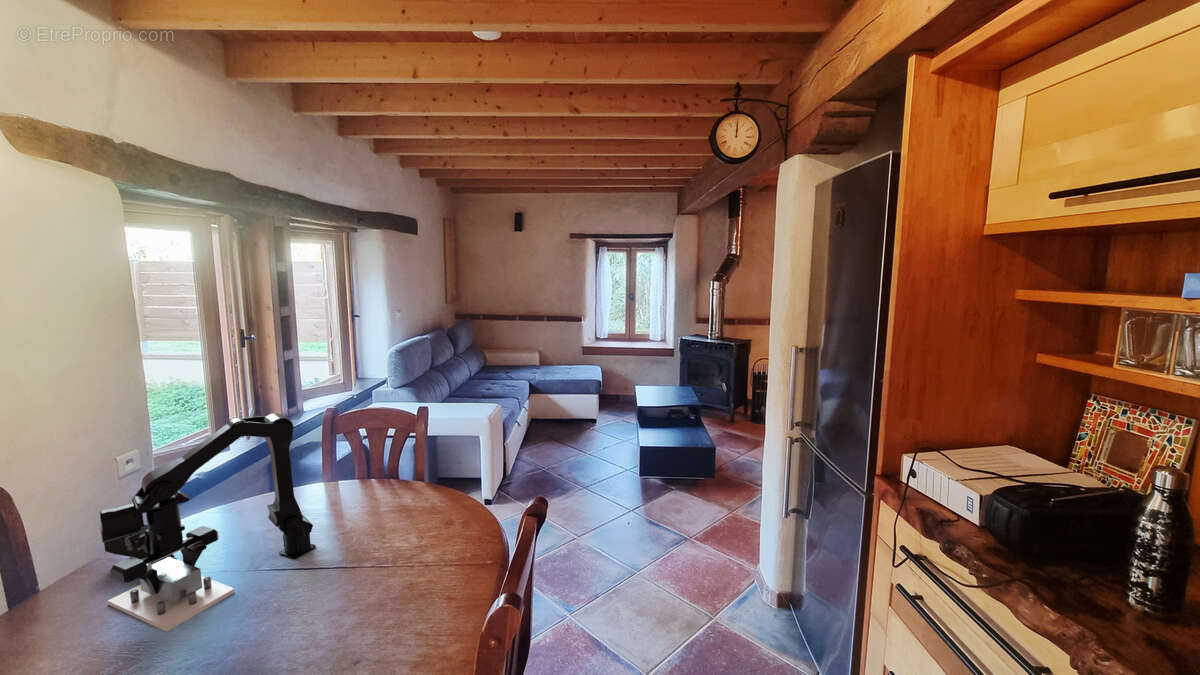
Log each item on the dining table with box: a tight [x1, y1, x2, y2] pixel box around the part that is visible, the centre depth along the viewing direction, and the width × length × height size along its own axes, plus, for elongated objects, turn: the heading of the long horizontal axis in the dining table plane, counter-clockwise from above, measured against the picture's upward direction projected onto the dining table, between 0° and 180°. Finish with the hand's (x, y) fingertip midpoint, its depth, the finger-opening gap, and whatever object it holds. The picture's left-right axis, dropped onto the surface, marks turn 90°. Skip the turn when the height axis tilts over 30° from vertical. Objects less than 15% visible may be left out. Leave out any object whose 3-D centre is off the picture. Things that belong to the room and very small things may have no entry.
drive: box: [139, 557, 202, 604], centre depth 115 cm, size 12×6×5 cm, turn 69°
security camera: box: [103, 524, 178, 565], centre depth 127 cm, size 7×18×10 cm, turn 78°
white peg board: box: [107, 575, 235, 633], centre depth 115 cm, size 22×14×4 cm, turn 69°
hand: (171, 585), depth 115 cm, fingers closed on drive, 6 cm apart
